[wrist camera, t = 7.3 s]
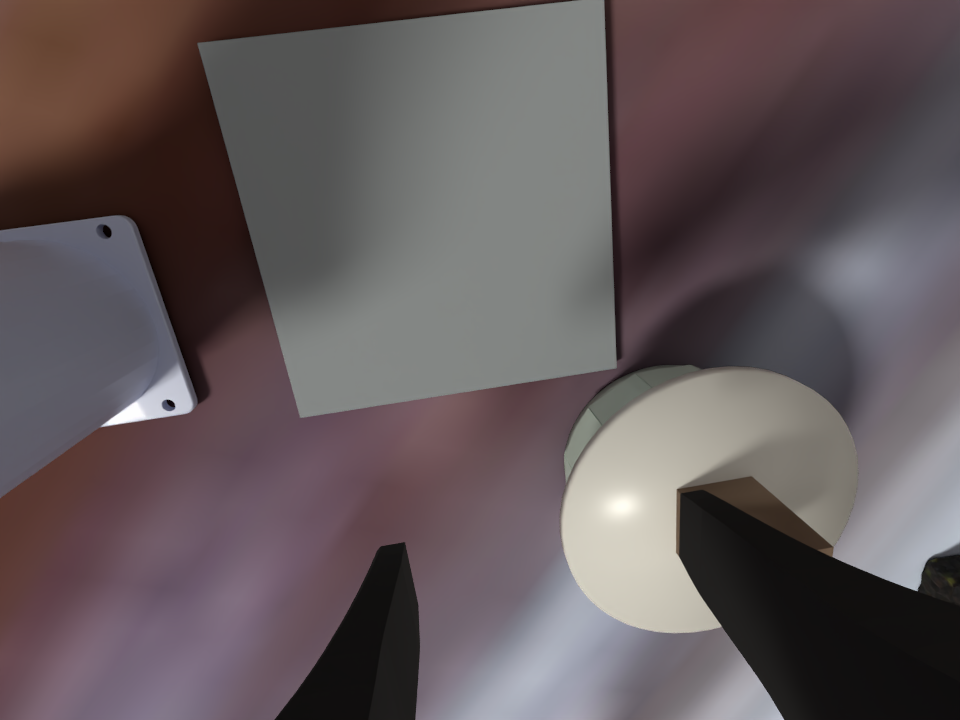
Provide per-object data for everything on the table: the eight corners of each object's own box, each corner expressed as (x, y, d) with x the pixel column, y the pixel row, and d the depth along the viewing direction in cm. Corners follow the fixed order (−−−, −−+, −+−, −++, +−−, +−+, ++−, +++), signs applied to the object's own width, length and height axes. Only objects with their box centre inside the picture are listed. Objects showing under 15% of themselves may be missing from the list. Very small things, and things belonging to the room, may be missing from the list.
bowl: (567, 547, 25) (595, 618, 21) (553, 378, 22) (584, 422, 18) (742, 516, 26) (804, 579, 22) (753, 347, 23) (828, 382, 18)
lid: (569, 643, 21) (605, 757, 17) (547, 393, 17) (587, 460, 13) (828, 594, 22) (926, 692, 18) (864, 343, 18) (1003, 390, 14)
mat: (303, 413, 21) (300, 417, 21) (203, 47, 17) (197, 43, 16) (612, 364, 22) (616, 368, 22) (599, 2, 18) (603, -3, 17)
